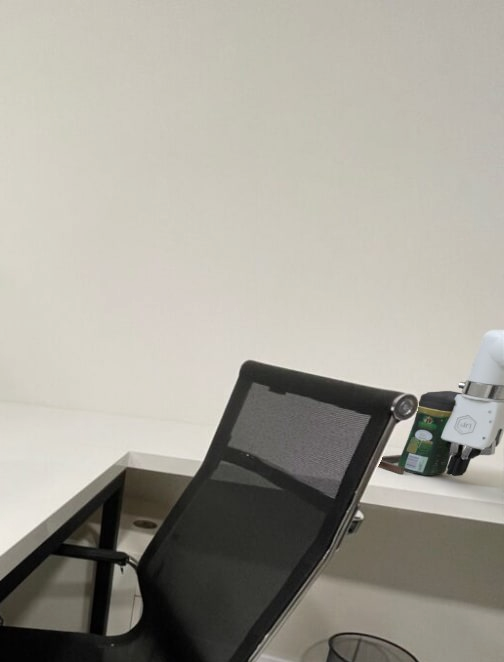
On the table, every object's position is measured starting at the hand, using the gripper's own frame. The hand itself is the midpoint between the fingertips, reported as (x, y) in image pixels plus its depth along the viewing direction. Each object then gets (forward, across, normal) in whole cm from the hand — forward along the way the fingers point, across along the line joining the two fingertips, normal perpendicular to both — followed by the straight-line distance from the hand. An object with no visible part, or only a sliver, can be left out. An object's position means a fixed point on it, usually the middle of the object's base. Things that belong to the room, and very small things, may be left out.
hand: (454, 474), depth 122 cm
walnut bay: (+2, -10, 0) cm, 10 cm away
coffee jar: (+2, -7, 0) cm, 7 cm away
